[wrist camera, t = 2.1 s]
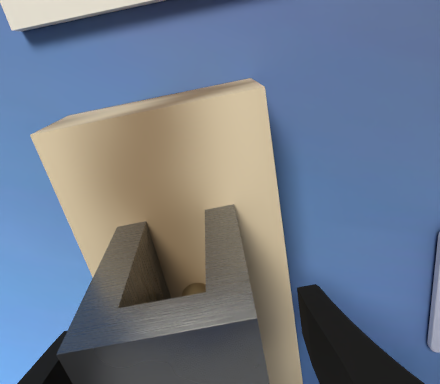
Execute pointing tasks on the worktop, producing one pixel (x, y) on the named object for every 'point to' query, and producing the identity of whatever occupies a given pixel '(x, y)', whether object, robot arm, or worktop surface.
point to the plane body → (182, 192)
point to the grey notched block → (167, 316)
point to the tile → (60, 11)
